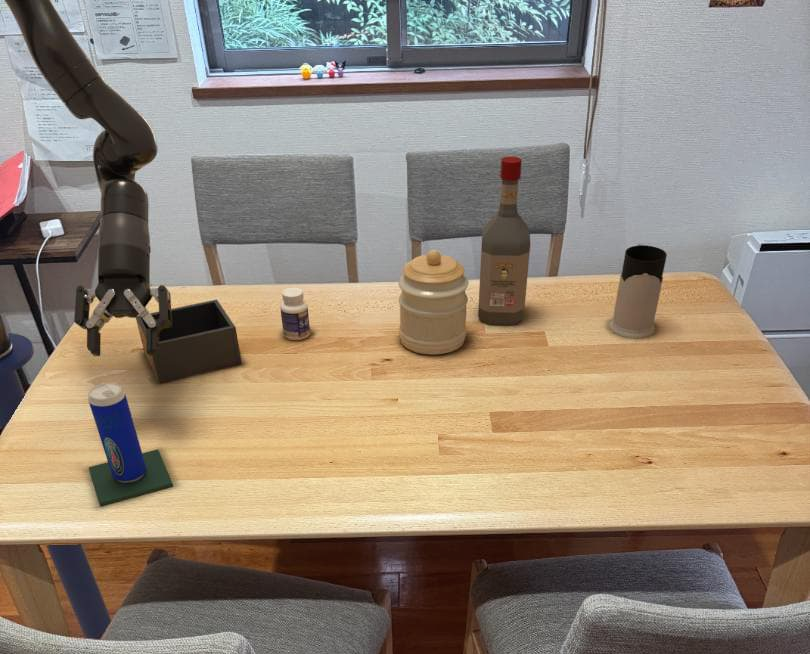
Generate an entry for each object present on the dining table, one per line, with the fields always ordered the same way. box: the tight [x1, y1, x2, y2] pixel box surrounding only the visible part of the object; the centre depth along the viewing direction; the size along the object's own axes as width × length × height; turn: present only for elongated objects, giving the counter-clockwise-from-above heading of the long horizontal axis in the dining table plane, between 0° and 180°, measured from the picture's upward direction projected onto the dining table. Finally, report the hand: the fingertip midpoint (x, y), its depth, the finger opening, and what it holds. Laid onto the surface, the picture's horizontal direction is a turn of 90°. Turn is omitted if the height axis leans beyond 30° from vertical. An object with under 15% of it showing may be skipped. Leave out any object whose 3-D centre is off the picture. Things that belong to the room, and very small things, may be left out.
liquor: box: [477, 156, 531, 326], centre depth 155 cm, size 9×9×30 cm
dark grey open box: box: [135, 299, 243, 384], centre depth 151 cm, size 16×13×8 cm
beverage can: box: [87, 381, 146, 483], centre depth 121 cm, size 5×5×15 cm
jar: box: [397, 249, 469, 355], centre depth 152 cm, size 13×13×18 cm
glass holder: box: [609, 242, 668, 339], centre depth 157 cm, size 9×14×15 cm, turn 173°
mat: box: [88, 448, 174, 507], centre depth 126 cm, size 11×10×1 cm
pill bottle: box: [279, 287, 311, 341], centre depth 157 cm, size 5×5×9 cm
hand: (123, 354), depth 124 cm, fingers open, 8 cm apart
